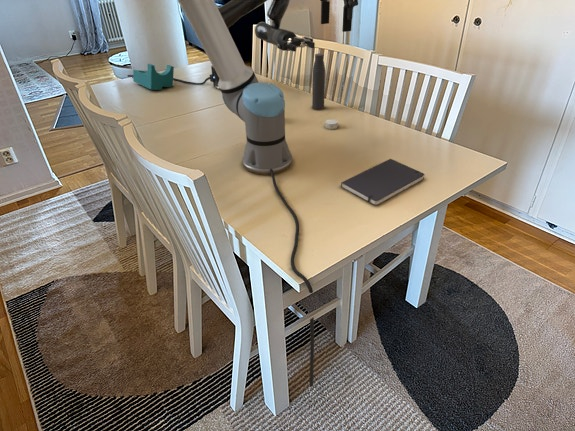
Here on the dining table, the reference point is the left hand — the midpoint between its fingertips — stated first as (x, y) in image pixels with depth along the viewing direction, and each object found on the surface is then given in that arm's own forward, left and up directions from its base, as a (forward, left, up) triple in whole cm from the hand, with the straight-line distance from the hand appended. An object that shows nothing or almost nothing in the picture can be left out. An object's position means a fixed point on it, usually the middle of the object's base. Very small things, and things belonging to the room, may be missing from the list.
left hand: (304, 47), depth 159 cm
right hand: (+24, -18, +12) cm, 32 cm away
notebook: (+56, -45, -21) cm, 75 cm away
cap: (+24, -18, -20) cm, 36 cm away
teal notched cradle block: (-71, -20, -21) cm, 77 cm away
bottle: (+10, -5, -21) cm, 24 cm away
